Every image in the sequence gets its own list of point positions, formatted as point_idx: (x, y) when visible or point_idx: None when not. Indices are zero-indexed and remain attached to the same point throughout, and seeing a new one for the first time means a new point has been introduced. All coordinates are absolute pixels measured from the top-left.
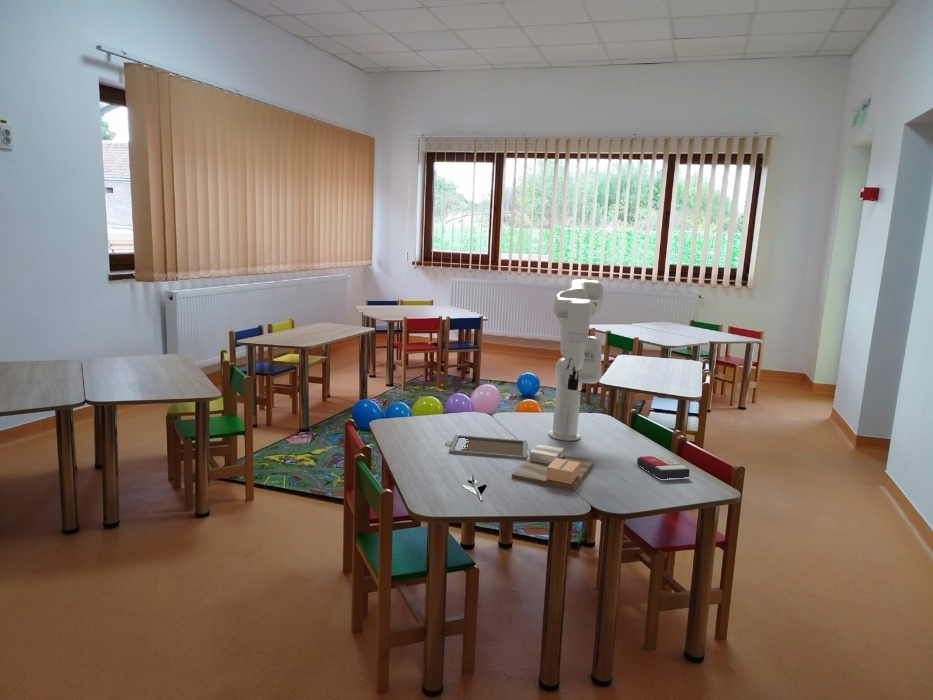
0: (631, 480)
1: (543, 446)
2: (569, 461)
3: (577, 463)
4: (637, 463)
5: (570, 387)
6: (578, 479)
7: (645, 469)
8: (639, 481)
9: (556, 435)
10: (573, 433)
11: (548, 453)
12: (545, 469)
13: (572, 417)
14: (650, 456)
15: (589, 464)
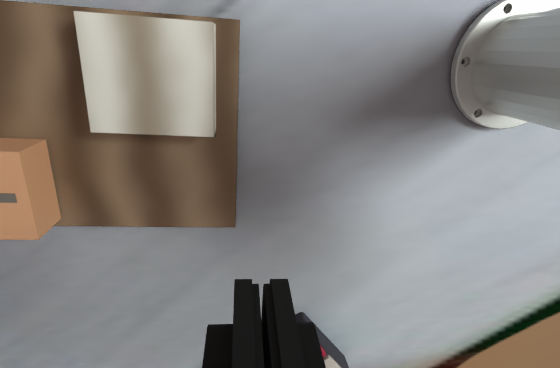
0: (168, 321)
1: (187, 50)
2: (18, 205)
3: (19, 234)
4: (299, 317)
5: (207, 330)
6: None
7: None
8: (174, 336)
9: (479, 39)
10: (491, 108)
11: (107, 95)
12: (31, 104)
13: (540, 113)
14: (322, 354)
15: (189, 222)
